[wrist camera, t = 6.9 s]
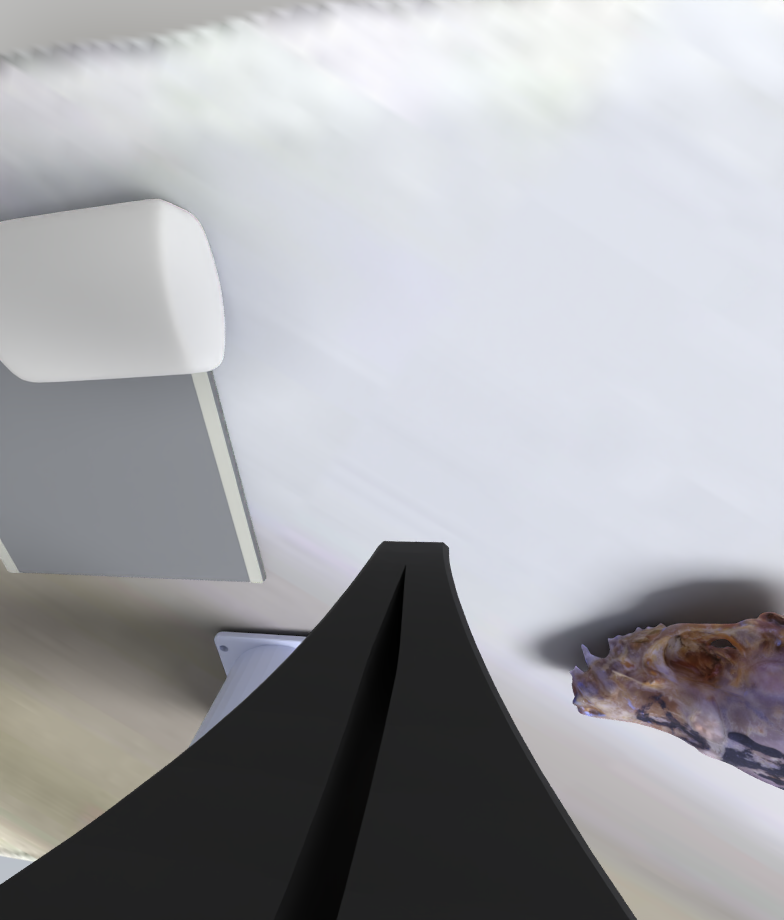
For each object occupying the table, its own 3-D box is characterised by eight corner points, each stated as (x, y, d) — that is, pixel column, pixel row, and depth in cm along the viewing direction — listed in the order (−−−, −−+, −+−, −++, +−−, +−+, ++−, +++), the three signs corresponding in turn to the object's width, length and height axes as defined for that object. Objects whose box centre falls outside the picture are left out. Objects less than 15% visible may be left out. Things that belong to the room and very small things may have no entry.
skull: (561, 692, 24) (589, 822, 19) (564, 585, 21) (599, 706, 15) (813, 701, 22) (930, 853, 16) (861, 582, 19) (1025, 723, 13)
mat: (266, 577, 23) (262, 583, 23) (15, 567, 26) (8, 572, 26) (200, 328, 18) (194, 330, 17) (-111, 348, 20) (-122, 350, 20)
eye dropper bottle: (249, 333, 19) (18, 351, 21) (189, 183, 15) (-88, 224, 17) (208, 393, 16) (-59, 407, 18) (118, 223, 12) (-209, 268, 14)
